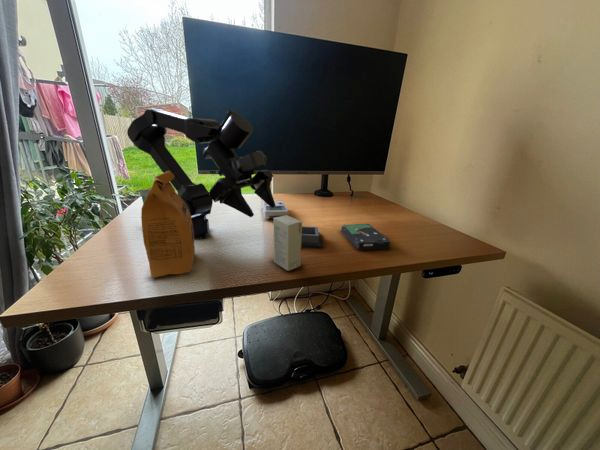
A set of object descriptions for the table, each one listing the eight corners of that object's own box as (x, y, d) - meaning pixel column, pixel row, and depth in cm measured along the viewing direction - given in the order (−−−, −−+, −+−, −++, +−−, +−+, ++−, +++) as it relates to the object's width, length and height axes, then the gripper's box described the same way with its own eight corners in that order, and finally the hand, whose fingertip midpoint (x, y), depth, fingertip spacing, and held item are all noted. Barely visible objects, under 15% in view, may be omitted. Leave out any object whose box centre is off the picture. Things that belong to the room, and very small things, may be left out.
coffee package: (201, 251, 65) (192, 169, 57) (193, 277, 54) (180, 180, 46) (161, 253, 63) (146, 169, 55) (143, 281, 52) (121, 179, 44)
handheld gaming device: (283, 208, 105) (283, 200, 104) (288, 220, 92) (288, 210, 90) (262, 209, 103) (262, 200, 102) (265, 221, 90) (264, 211, 88)
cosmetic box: (301, 266, 61) (303, 221, 56) (287, 272, 58) (289, 225, 54) (285, 256, 65) (287, 214, 61) (272, 261, 63) (273, 217, 58)
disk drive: (389, 249, 73) (367, 230, 86) (391, 241, 72) (368, 223, 85) (358, 251, 71) (340, 231, 84) (359, 242, 70) (341, 223, 83)
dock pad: (321, 248, 71) (322, 237, 70) (284, 246, 71) (285, 236, 70) (319, 234, 81) (320, 225, 79) (286, 232, 80) (286, 223, 79)
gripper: (214, 139, 48) (260, 201, 48) (267, 138, 64) (302, 185, 63) (191, 173, 54) (231, 229, 54) (245, 165, 70) (276, 208, 69)
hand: (264, 211), depth 60 cm, fingers open, 9 cm apart
